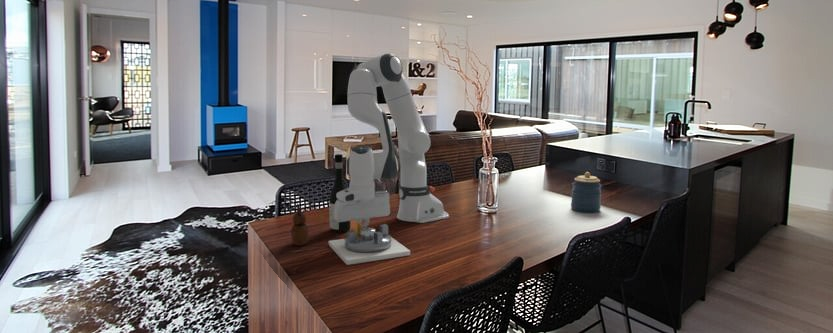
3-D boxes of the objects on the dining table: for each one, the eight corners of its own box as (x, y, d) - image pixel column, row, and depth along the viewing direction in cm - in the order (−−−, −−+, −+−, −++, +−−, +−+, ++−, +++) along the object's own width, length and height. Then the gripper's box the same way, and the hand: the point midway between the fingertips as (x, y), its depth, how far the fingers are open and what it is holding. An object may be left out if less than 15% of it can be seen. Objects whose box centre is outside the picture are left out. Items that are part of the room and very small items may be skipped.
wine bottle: (333, 234, 189) (331, 156, 184) (327, 229, 196) (325, 154, 191) (353, 231, 193) (352, 155, 188) (346, 226, 200) (345, 152, 195)
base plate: (386, 237, 186) (386, 233, 185) (410, 255, 166) (410, 250, 166) (328, 244, 176) (328, 240, 176) (347, 264, 157) (346, 260, 156)
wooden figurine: (293, 241, 180) (292, 201, 178) (309, 241, 181) (308, 201, 178) (290, 247, 173) (288, 205, 171) (307, 247, 174) (305, 205, 172)
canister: (569, 211, 224) (571, 173, 222) (571, 205, 236) (573, 168, 233) (599, 214, 220) (602, 175, 217) (600, 207, 231) (603, 170, 229)
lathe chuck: (351, 237, 180) (351, 221, 179) (395, 239, 178) (395, 222, 177) (339, 251, 164) (338, 234, 163) (386, 253, 162) (386, 236, 161)
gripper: (385, 188, 181) (386, 224, 184) (331, 193, 172) (333, 232, 174) (392, 191, 176) (393, 228, 178) (337, 197, 166) (339, 237, 169)
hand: (363, 230), depth 176 cm, fingers closed
